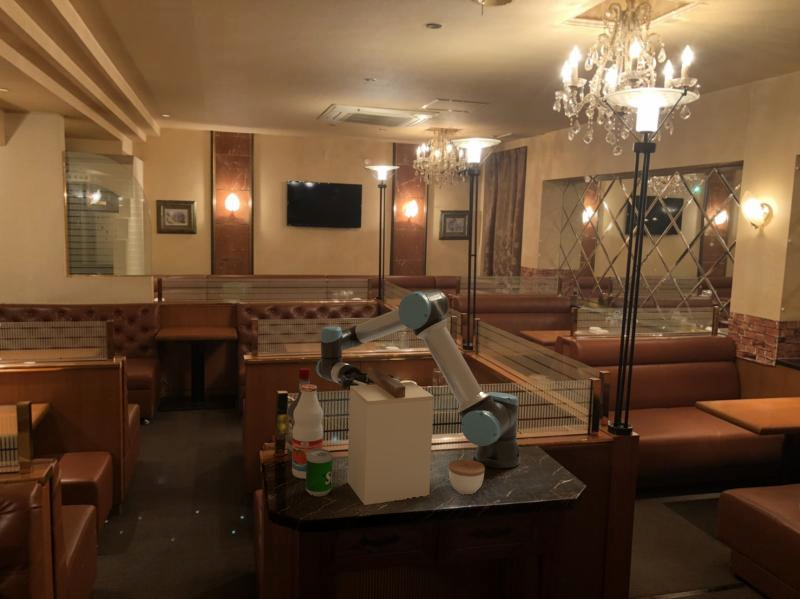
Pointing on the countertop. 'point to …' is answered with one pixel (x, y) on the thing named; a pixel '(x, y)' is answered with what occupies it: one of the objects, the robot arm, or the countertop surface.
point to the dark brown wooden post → (386, 382)
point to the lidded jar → (466, 475)
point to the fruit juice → (306, 429)
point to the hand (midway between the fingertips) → (382, 386)
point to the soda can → (319, 472)
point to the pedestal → (389, 443)
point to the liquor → (303, 380)
